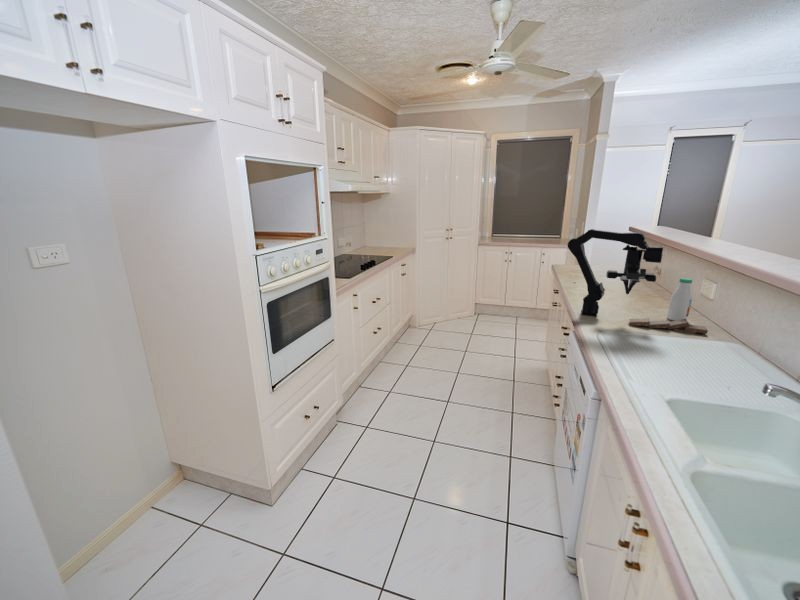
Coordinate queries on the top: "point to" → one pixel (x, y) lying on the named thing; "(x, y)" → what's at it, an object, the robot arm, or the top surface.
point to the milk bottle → (680, 301)
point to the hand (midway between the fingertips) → (627, 294)
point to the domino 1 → (639, 321)
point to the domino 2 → (659, 324)
